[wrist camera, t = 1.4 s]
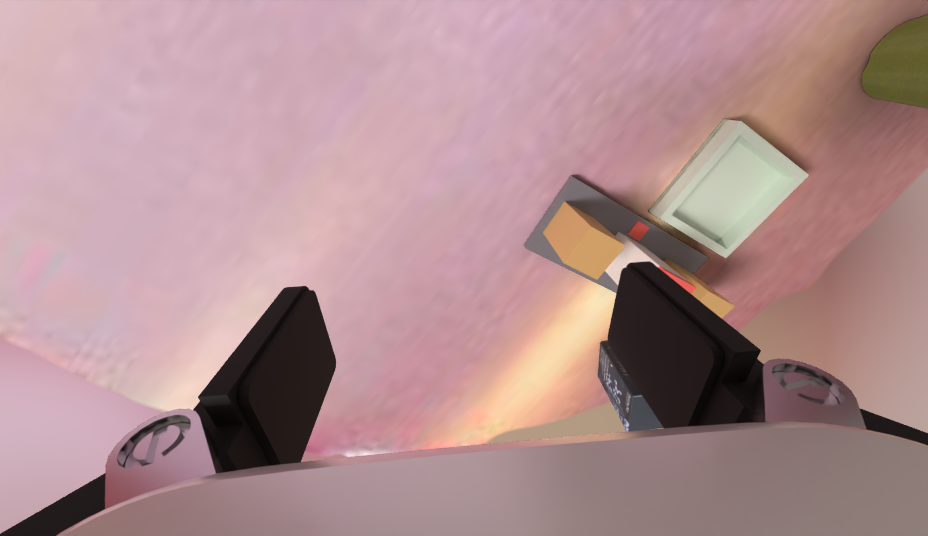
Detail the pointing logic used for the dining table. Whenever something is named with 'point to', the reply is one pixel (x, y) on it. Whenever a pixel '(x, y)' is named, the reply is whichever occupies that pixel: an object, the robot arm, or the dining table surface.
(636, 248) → the white block red top
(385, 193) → the dining table surface
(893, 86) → the plant pot
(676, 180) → the tray
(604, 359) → the box
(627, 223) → the fuse block
